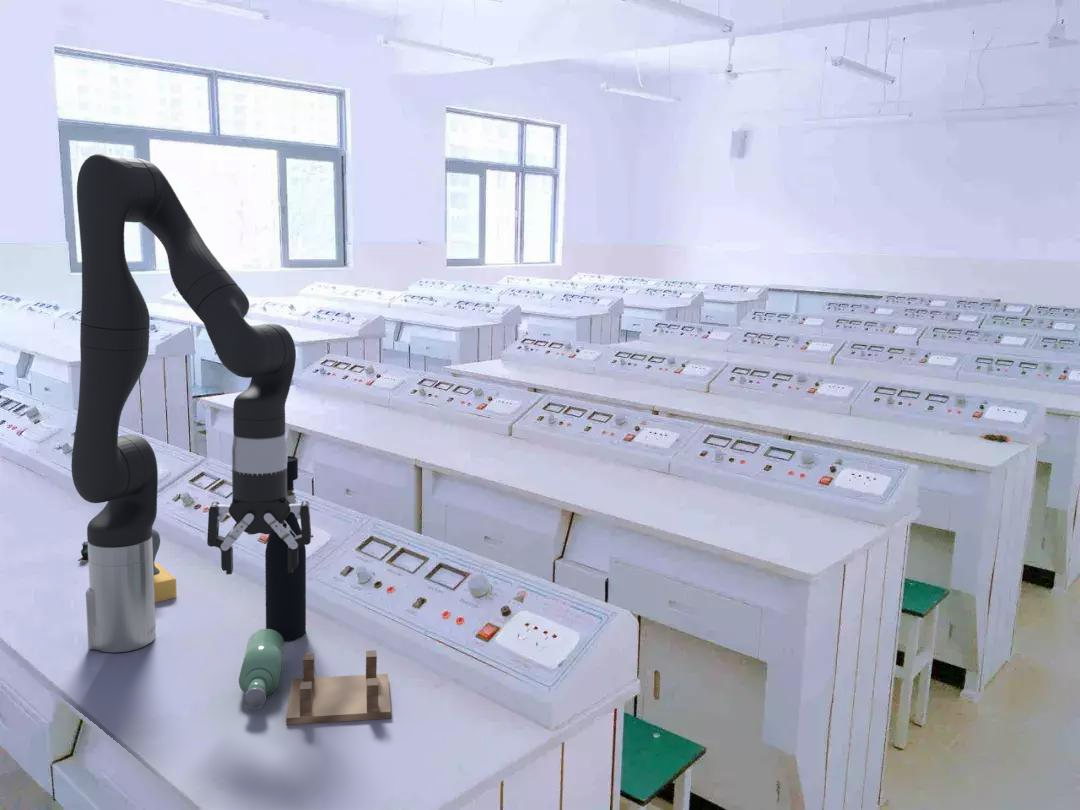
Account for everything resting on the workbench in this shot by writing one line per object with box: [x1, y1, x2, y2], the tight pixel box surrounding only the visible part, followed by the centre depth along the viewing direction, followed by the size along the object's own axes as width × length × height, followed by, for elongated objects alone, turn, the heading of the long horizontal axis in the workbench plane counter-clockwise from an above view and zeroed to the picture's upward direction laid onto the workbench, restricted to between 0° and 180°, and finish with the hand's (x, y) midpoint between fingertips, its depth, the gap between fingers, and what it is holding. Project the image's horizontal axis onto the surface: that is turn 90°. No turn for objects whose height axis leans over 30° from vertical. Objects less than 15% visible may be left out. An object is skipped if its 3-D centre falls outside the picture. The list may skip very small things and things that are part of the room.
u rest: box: [285, 649, 392, 726], centre depth 128 cm, size 14×11×5 cm
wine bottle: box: [264, 455, 307, 643], centre depth 146 cm, size 6×6×30 cm
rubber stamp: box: [152, 528, 178, 603], centre depth 162 cm, size 10×6×12 cm, turn 41°
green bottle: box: [238, 628, 285, 709], centre depth 131 cm, size 16×6×6 cm, turn 12°
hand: (260, 571), depth 131 cm, fingers open, 8 cm apart
